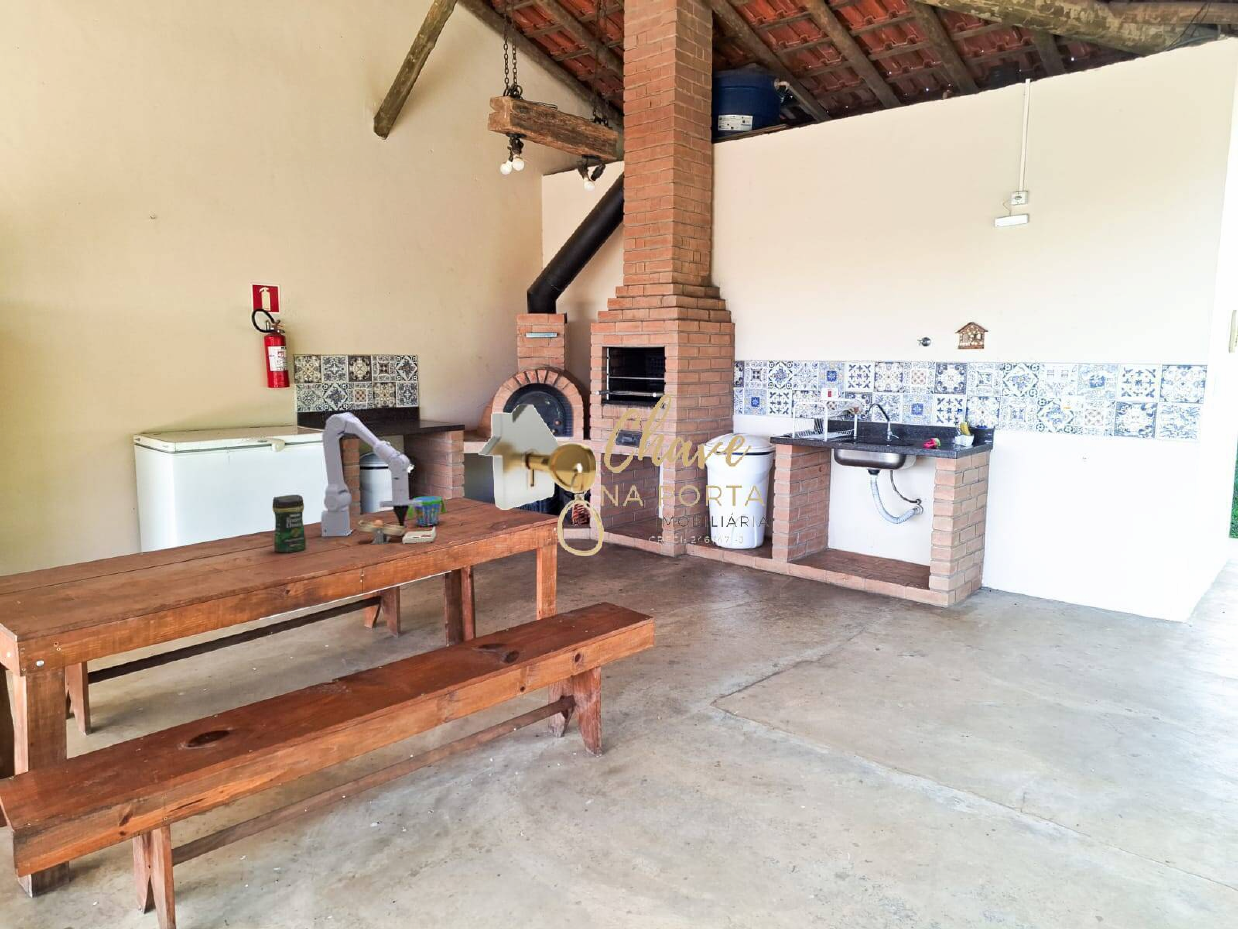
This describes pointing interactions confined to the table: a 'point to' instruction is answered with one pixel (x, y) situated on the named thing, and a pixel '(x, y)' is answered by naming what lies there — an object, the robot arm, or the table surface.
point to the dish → (409, 536)
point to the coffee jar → (289, 523)
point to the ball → (378, 523)
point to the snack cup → (427, 510)
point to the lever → (386, 528)
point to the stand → (380, 537)
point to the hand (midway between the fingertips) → (401, 526)
